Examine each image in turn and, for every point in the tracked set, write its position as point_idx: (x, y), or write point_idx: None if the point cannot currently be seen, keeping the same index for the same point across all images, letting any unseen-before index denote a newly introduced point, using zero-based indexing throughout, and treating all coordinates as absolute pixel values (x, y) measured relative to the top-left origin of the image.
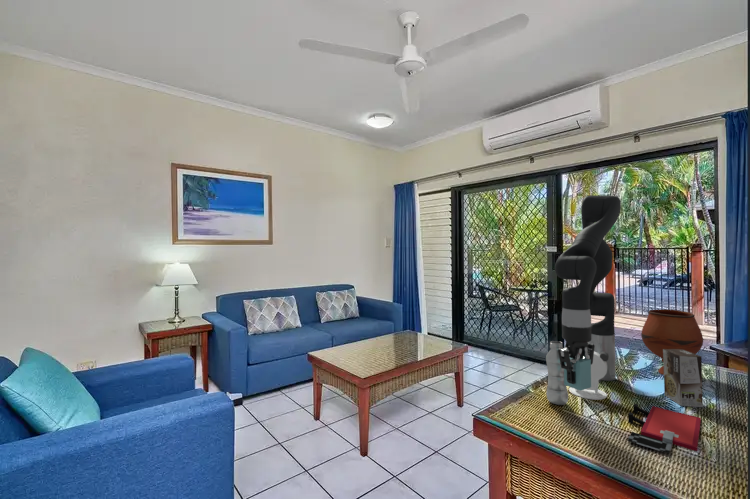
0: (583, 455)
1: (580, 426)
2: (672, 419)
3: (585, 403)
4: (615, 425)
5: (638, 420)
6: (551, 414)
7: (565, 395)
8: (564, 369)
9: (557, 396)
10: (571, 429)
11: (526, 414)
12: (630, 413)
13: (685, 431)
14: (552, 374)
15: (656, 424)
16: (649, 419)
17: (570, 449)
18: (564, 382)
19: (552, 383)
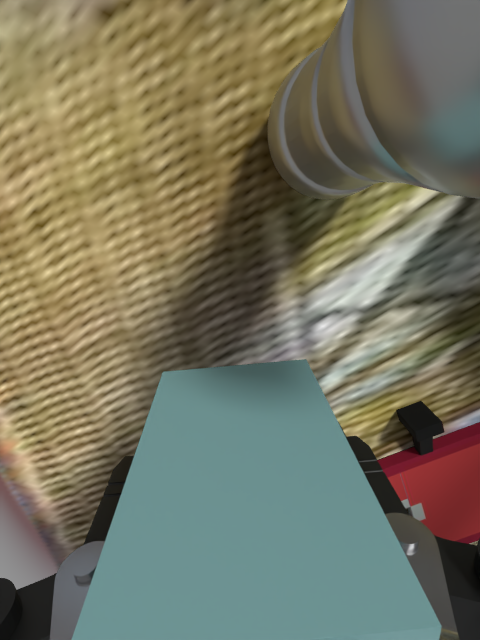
0: (35, 487)
1: (197, 362)
2: None
3: (447, 211)
4: (331, 406)
5: (418, 443)
6: (172, 228)
7: (334, 196)
8: (131, 477)
9: (286, 174)
10: (140, 365)
11: (42, 168)
12: (430, 430)
13: (464, 523)
14: (320, 101)
15: (443, 473)
16: (470, 444)
17: (19, 453)
18: (160, 384)
19: (299, 119)
